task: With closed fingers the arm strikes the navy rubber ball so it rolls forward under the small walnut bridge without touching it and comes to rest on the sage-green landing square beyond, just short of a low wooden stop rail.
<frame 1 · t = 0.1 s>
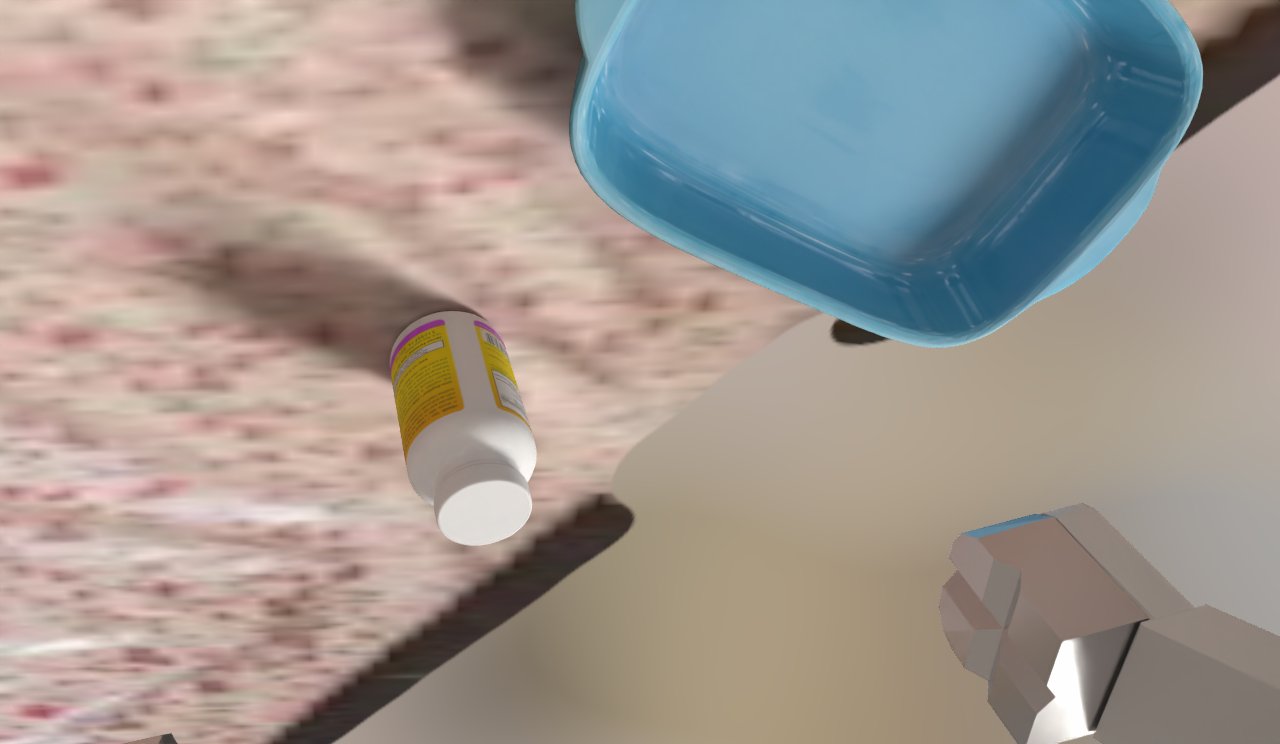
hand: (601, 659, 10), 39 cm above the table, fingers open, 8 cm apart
supplement bottle: (446, 350, 56), on the table
casserole dish: (852, 66, 52), on the table
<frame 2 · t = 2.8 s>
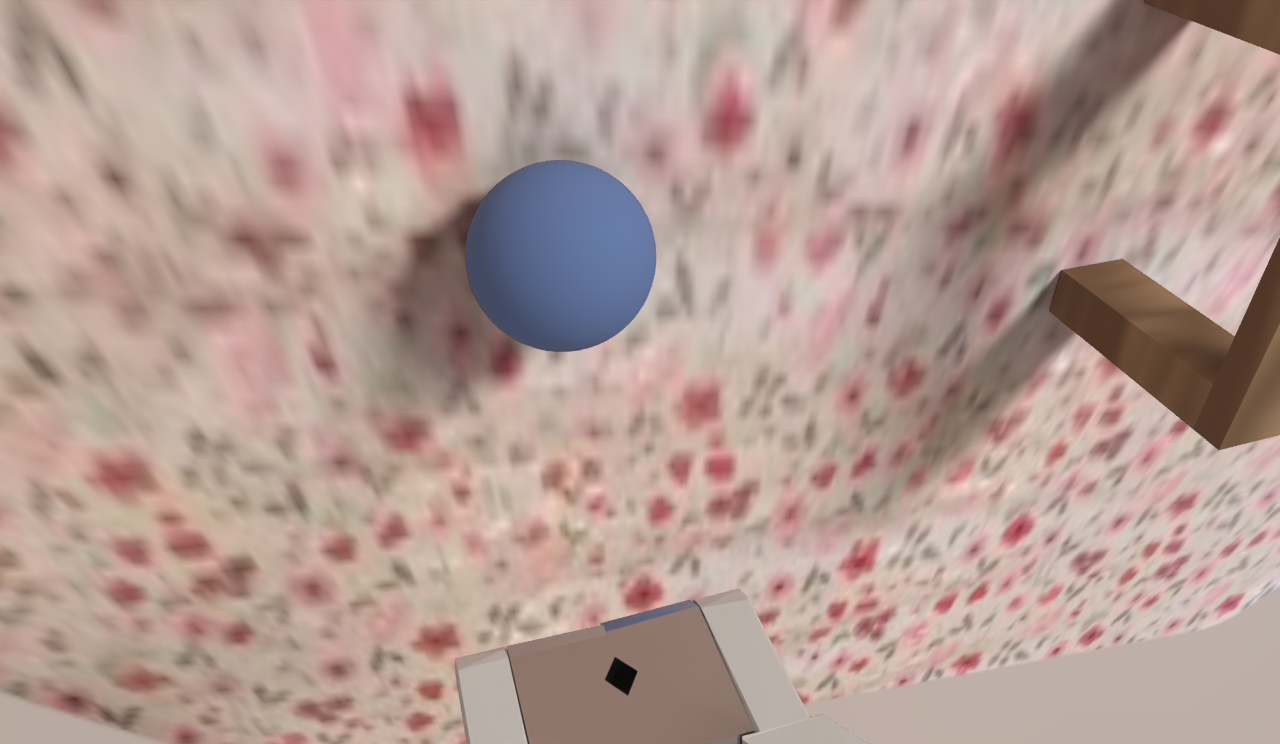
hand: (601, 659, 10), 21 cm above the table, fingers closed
ball: (561, 257, 28), on the table
bridge: (1132, 143, 36), on the table
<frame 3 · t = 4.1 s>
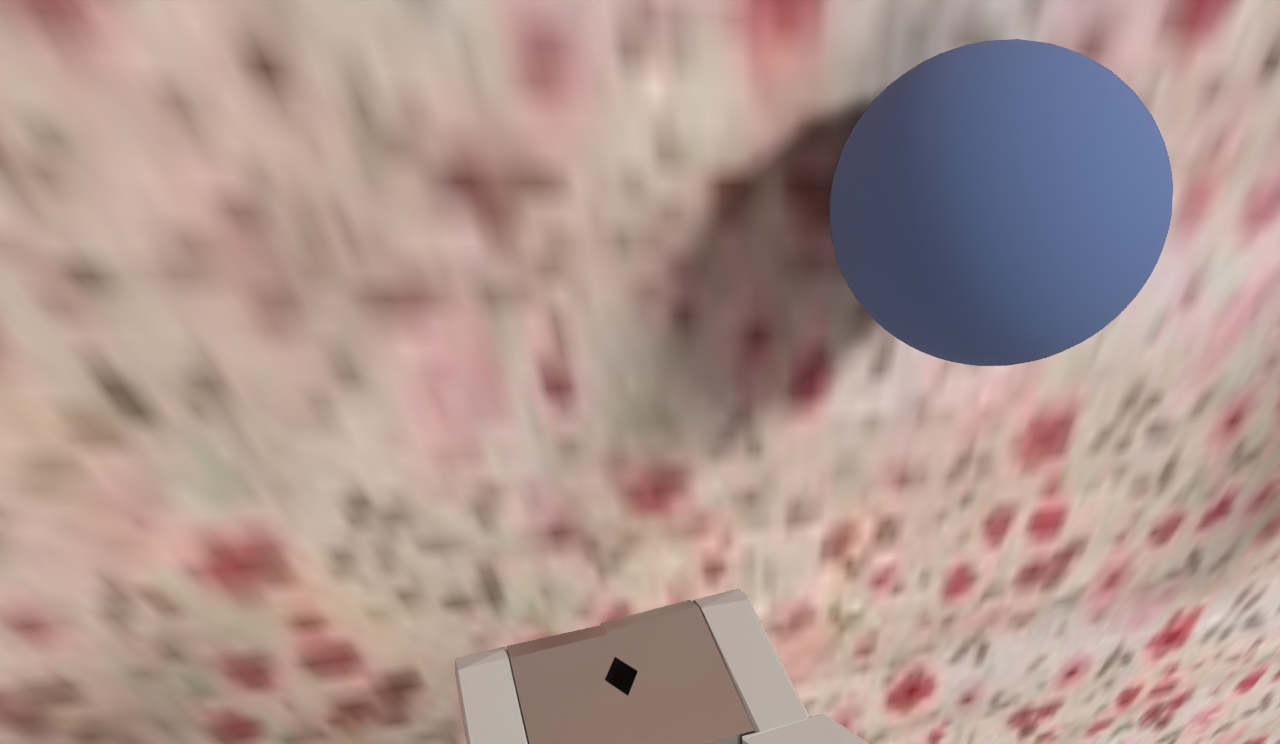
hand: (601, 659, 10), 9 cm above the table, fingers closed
ball: (991, 207, 17), on the table
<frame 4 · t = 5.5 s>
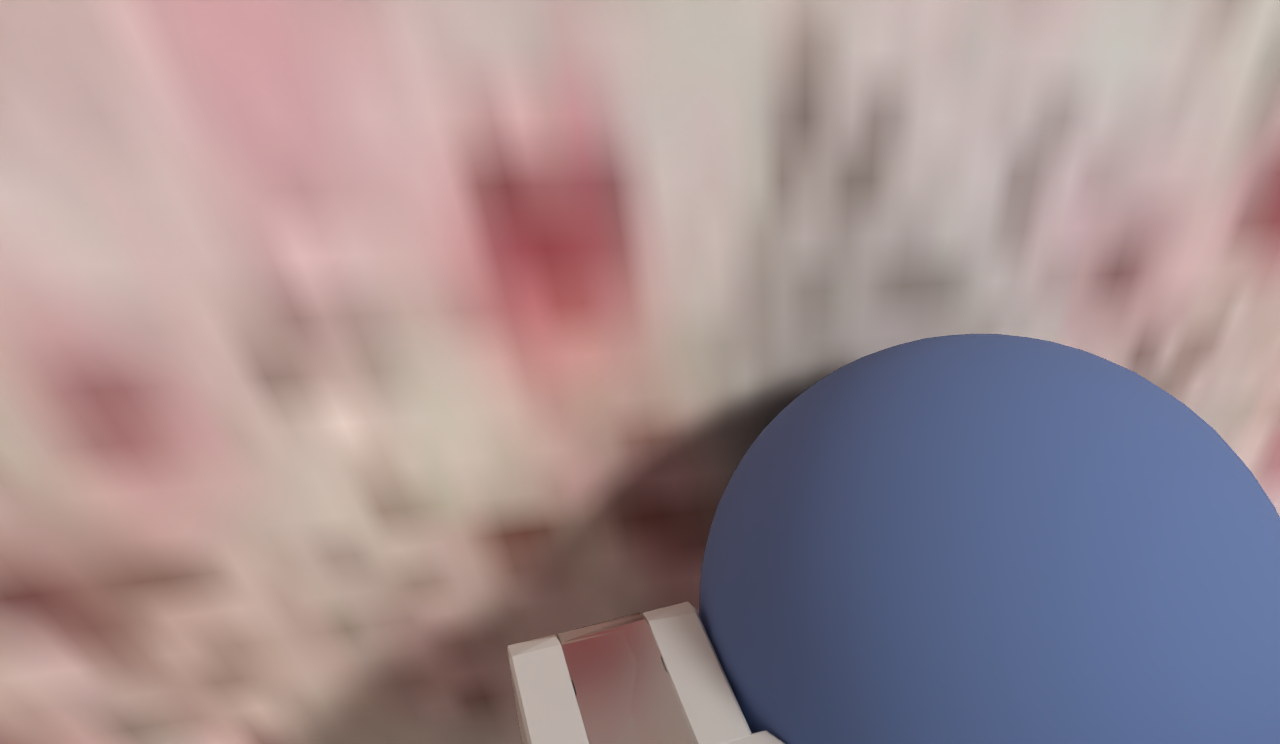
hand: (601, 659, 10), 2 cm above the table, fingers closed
ball: (976, 610, 10), on the table, touching gripper
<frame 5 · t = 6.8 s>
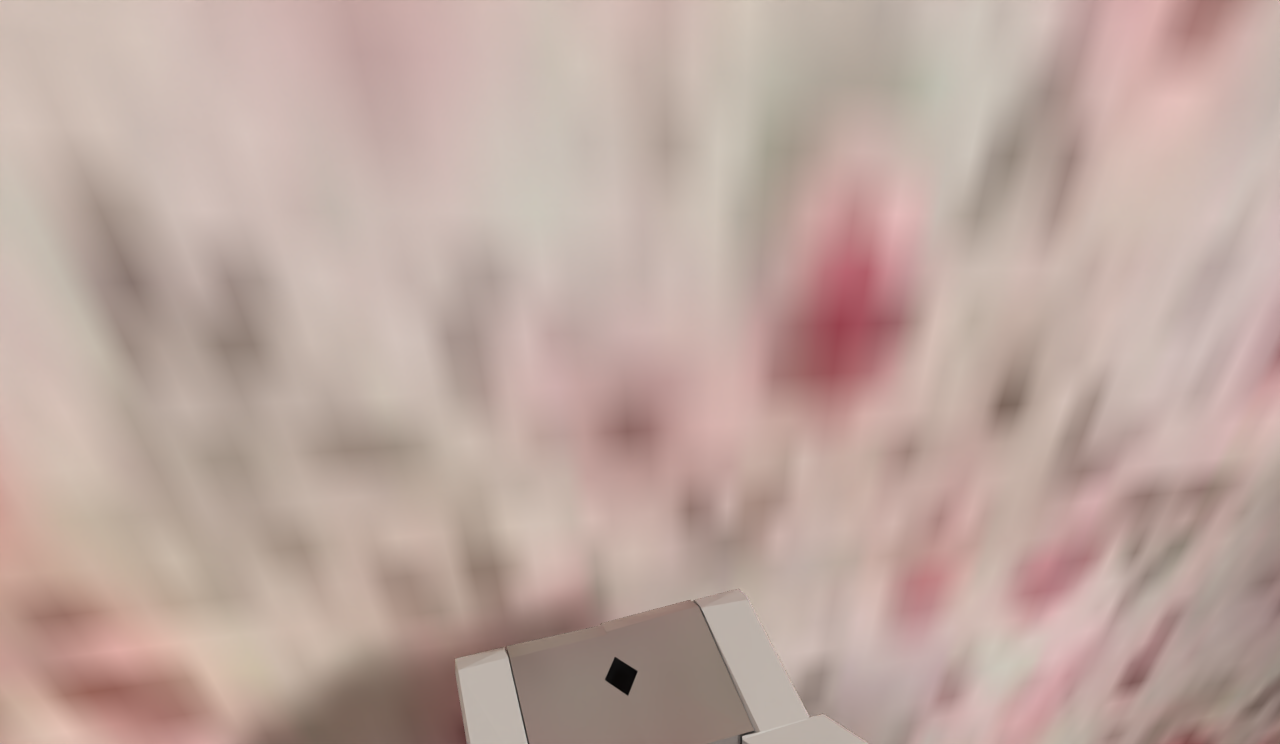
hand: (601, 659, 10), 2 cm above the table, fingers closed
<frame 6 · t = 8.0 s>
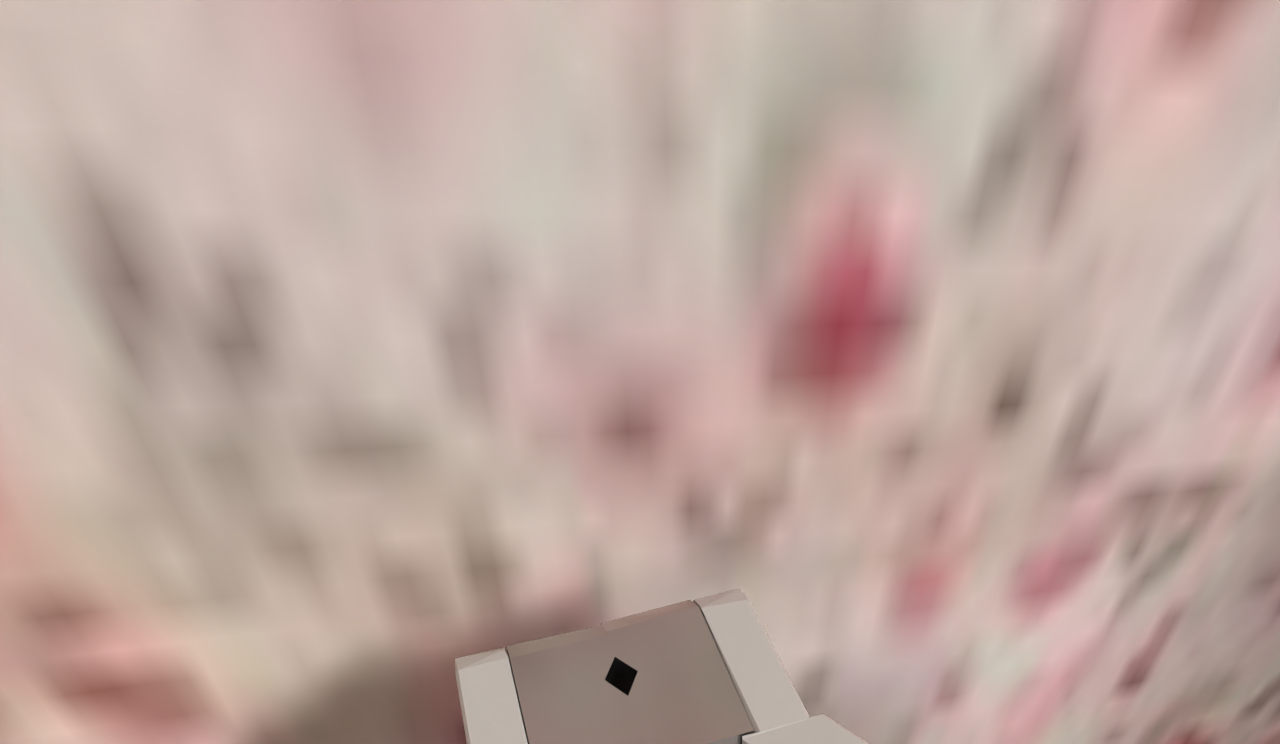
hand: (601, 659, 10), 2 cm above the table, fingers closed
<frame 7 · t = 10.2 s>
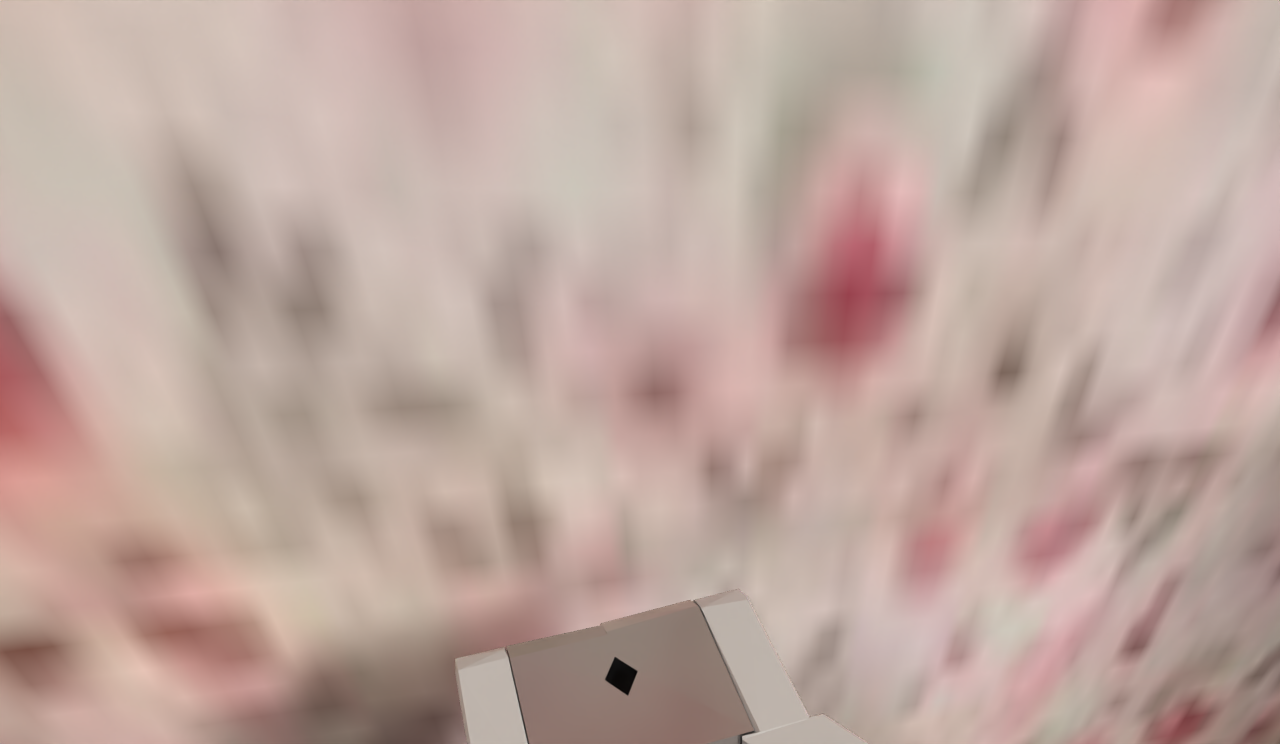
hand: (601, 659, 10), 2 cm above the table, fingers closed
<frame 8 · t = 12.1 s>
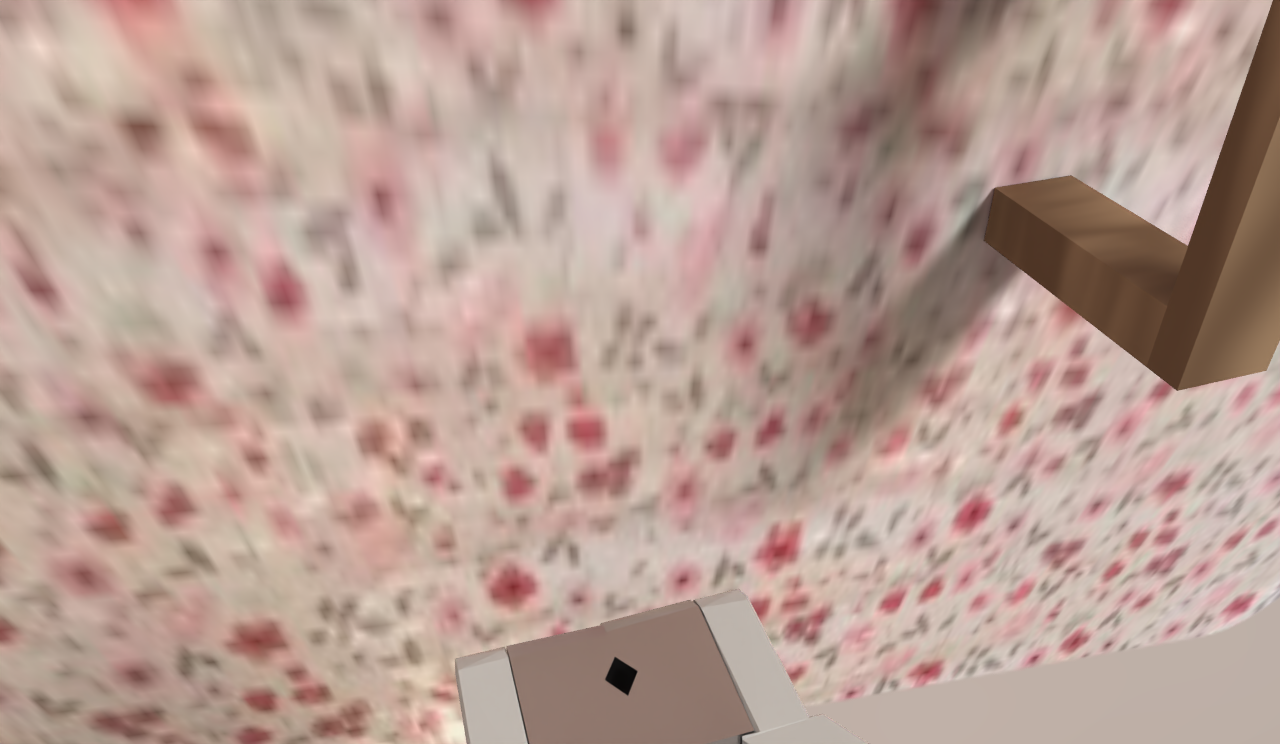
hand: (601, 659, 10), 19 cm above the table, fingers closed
bridge: (1070, 22, 30), on the table
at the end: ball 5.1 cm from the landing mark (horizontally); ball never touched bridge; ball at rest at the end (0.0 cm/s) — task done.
